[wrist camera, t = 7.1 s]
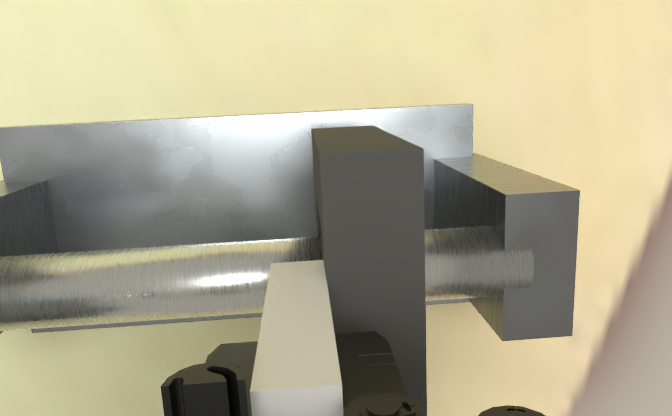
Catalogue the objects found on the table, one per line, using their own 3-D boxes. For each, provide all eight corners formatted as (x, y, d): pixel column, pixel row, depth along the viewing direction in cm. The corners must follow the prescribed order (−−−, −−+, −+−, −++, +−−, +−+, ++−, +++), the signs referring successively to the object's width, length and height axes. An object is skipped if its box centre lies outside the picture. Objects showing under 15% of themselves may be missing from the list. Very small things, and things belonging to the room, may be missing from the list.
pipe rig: (29, 326, 27) (-133, 468, 17) (-7, 127, 25) (-219, 152, 15) (475, 295, 28) (575, 409, 18) (477, 103, 26) (591, 111, 16)
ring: (322, 335, 23) (337, 482, 15) (311, 128, 21) (319, 154, 13) (379, 331, 24) (427, 474, 15) (372, 125, 22) (423, 149, 13)
